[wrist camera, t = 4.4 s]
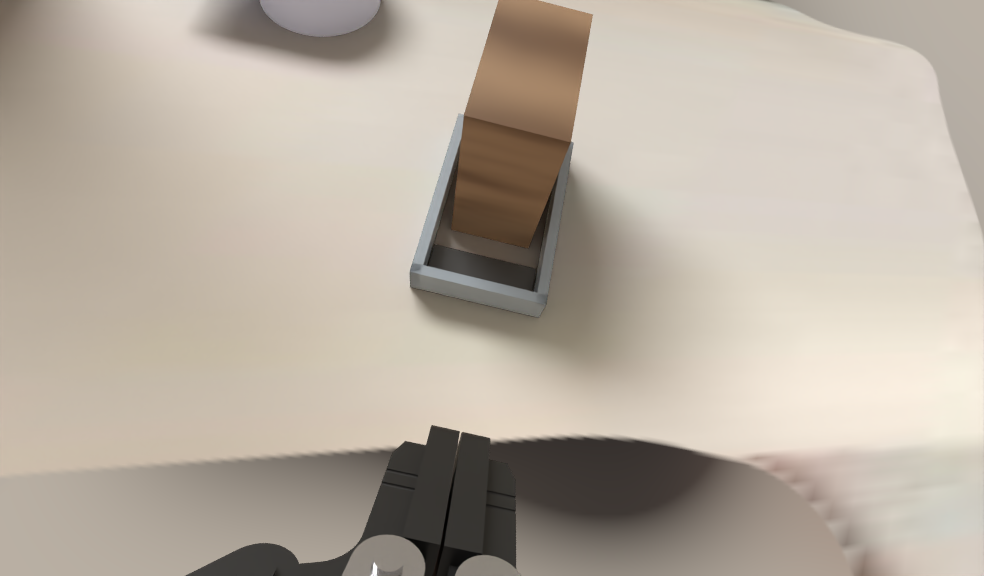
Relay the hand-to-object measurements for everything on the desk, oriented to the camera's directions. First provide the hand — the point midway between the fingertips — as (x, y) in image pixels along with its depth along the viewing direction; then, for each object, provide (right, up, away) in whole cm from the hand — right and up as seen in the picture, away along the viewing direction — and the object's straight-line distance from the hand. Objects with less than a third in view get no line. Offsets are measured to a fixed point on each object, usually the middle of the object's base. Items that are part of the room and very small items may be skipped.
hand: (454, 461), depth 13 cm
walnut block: (+2, +11, +21) cm, 24 cm away
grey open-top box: (+1, +9, +20) cm, 22 cm away
